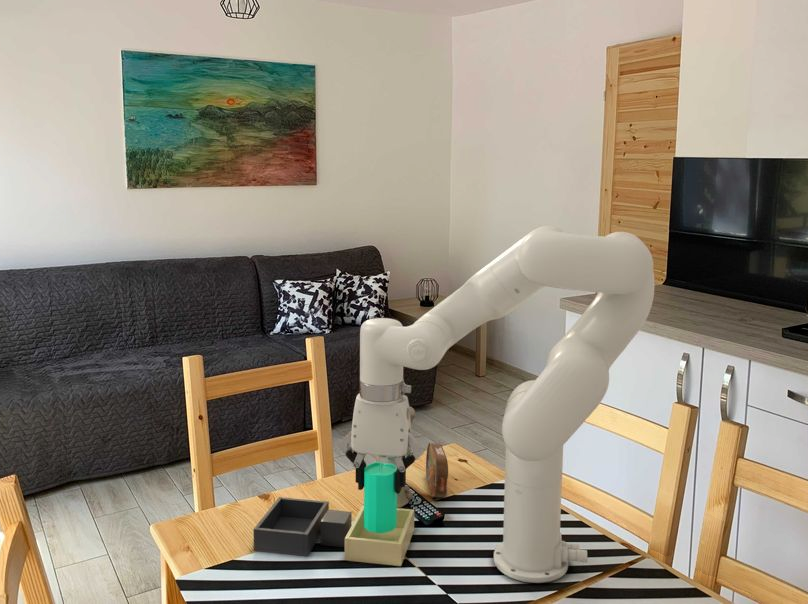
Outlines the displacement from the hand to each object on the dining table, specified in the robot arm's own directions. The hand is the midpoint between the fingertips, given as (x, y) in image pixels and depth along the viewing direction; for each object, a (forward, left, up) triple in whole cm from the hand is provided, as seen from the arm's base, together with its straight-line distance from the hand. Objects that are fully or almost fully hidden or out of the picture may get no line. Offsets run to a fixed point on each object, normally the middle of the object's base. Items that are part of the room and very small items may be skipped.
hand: (380, 487), depth 126 cm
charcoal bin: (+16, 0, -11) cm, 20 cm away
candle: (0, 0, -7) cm, 7 cm away
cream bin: (0, 0, -11) cm, 11 cm away
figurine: (+1, -17, -11) cm, 20 cm away
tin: (-7, -24, -11) cm, 27 cm away
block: (+8, 0, -11) cm, 13 cm away
